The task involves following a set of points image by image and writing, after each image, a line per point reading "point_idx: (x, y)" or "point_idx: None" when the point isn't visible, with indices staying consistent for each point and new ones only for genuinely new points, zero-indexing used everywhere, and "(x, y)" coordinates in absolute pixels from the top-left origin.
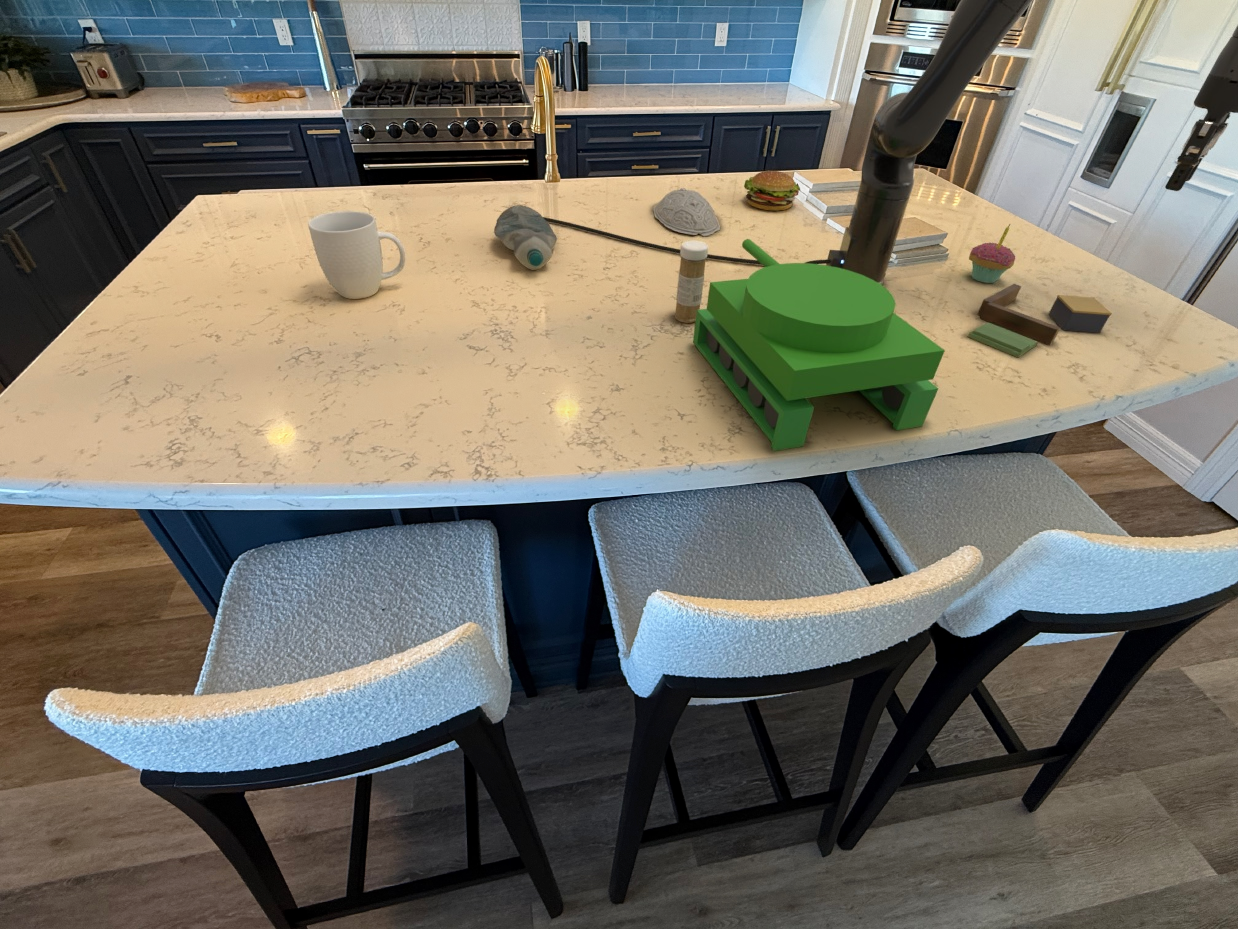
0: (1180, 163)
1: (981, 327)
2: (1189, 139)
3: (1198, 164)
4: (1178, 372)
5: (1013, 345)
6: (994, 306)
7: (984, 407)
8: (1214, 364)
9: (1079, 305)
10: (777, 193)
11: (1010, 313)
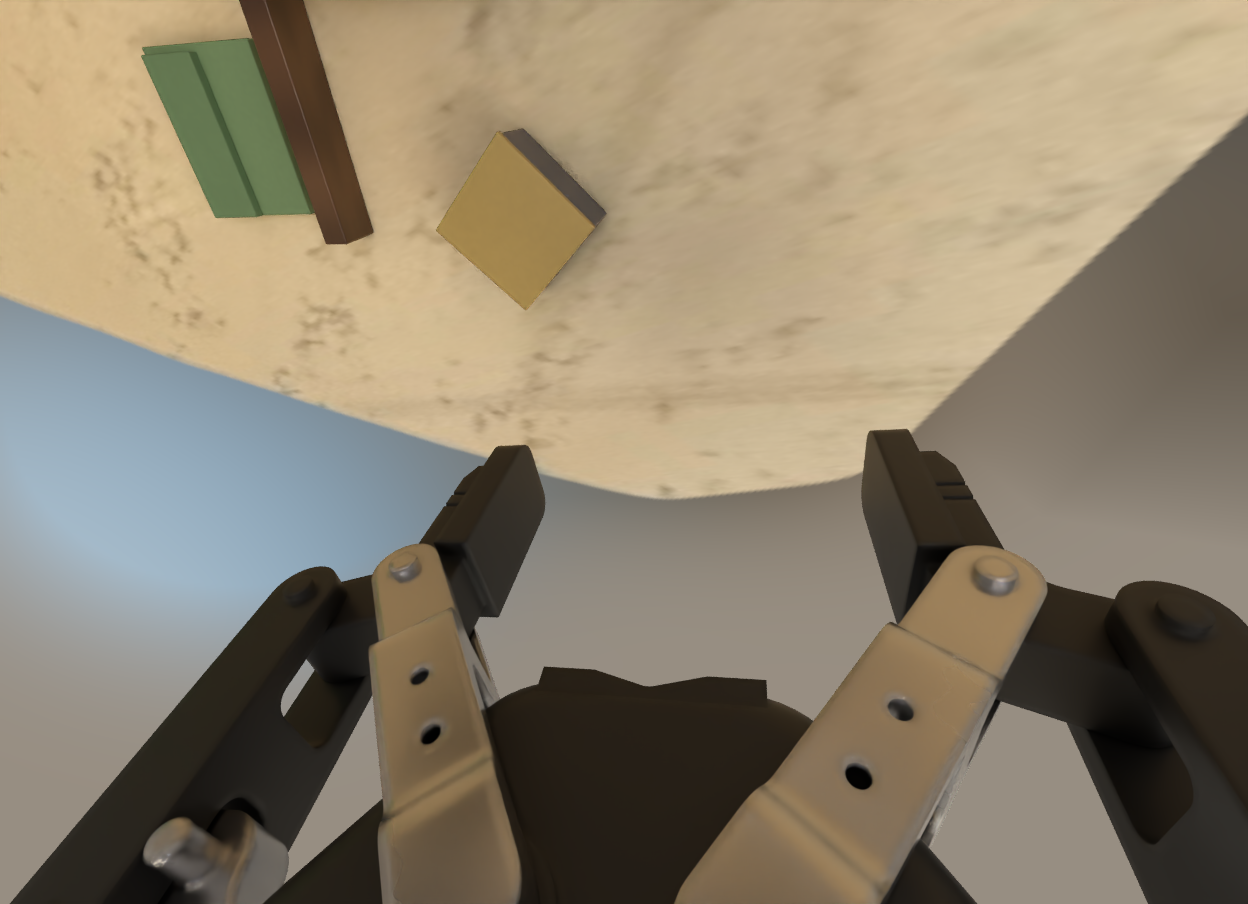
0: (368, 575)
1: (176, 61)
2: (152, 742)
3: (890, 592)
4: None
5: (205, 190)
6: (244, 14)
7: (37, 270)
8: (620, 487)
9: (484, 226)
10: None
11: (271, 87)
